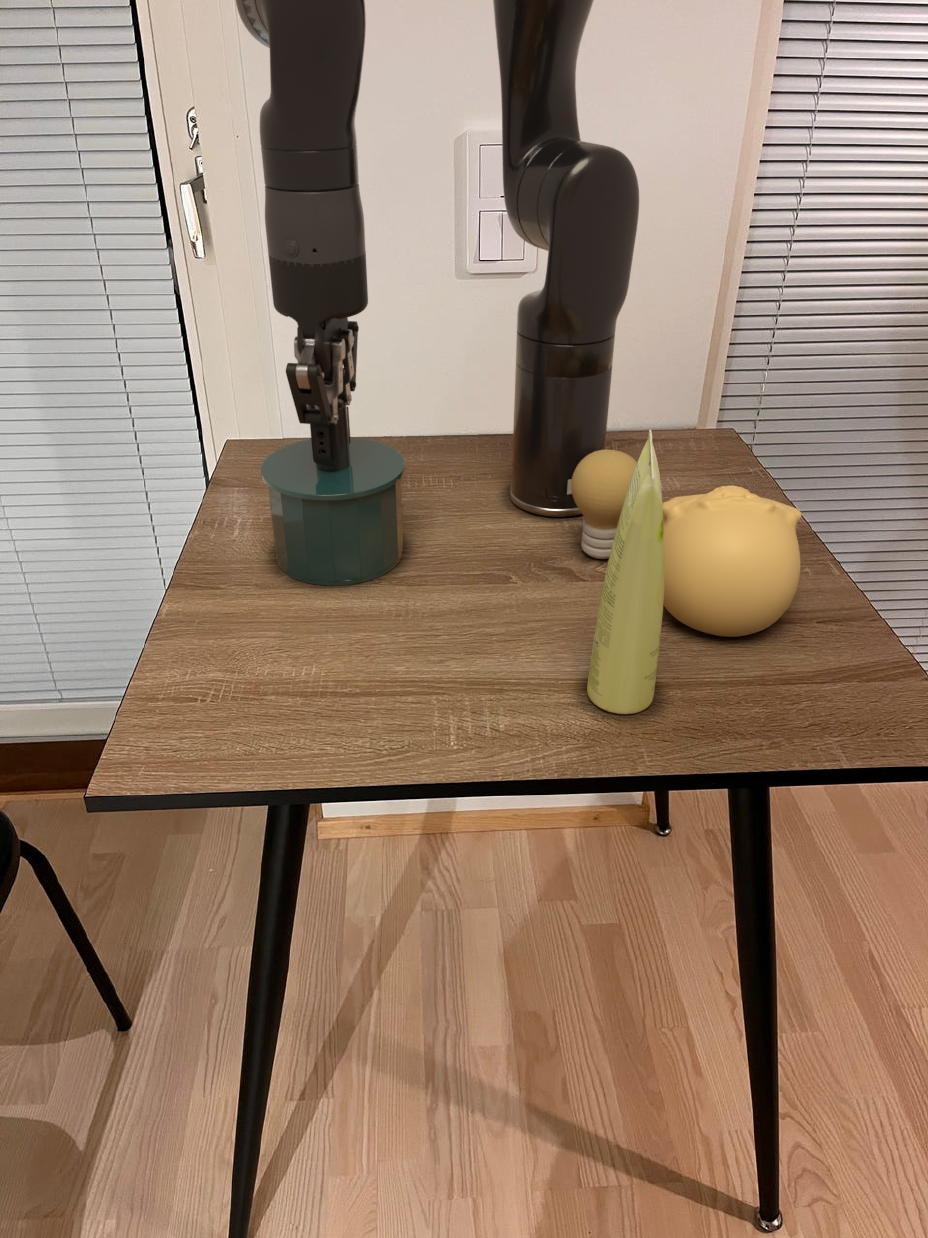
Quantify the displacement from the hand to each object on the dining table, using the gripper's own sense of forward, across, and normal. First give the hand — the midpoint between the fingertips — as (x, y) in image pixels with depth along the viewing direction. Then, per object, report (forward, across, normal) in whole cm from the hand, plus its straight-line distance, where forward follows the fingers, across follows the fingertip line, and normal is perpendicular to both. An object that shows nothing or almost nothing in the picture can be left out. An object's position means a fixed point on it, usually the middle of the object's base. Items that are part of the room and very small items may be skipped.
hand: (332, 454), depth 83 cm
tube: (+10, -18, -26) cm, 33 cm away
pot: (+10, 0, 0) cm, 10 cm away
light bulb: (+10, +4, -24) cm, 26 cm away
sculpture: (+10, -5, -34) cm, 36 cm away
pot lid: (+1, 0, 0) cm, 1 cm away
